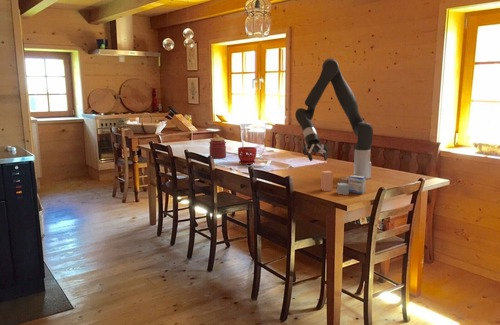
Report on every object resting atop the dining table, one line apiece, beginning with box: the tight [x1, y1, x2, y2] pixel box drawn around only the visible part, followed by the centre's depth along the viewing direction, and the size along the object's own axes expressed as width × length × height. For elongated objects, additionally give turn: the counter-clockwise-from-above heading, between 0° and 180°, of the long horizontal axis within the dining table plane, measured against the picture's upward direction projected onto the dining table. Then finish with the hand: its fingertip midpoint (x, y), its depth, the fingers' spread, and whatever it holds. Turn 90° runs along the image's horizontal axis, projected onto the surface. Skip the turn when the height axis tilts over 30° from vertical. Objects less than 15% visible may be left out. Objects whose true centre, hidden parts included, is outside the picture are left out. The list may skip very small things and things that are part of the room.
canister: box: [208, 134, 227, 160], centre depth 332 cm, size 13×13×18 cm
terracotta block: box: [320, 170, 334, 192], centre depth 229 cm, size 4×4×10 cm
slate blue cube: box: [336, 182, 350, 196], centre depth 222 cm, size 5×5×5 cm
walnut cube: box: [339, 176, 349, 185], centre depth 235 cm, size 5×5×5 cm
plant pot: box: [237, 146, 257, 166], centre depth 304 cm, size 13×13×12 cm
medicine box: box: [348, 174, 367, 195], centre depth 224 cm, size 8×4×9 cm, turn 56°
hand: (318, 159), depth 237 cm, fingers open, 8 cm apart
